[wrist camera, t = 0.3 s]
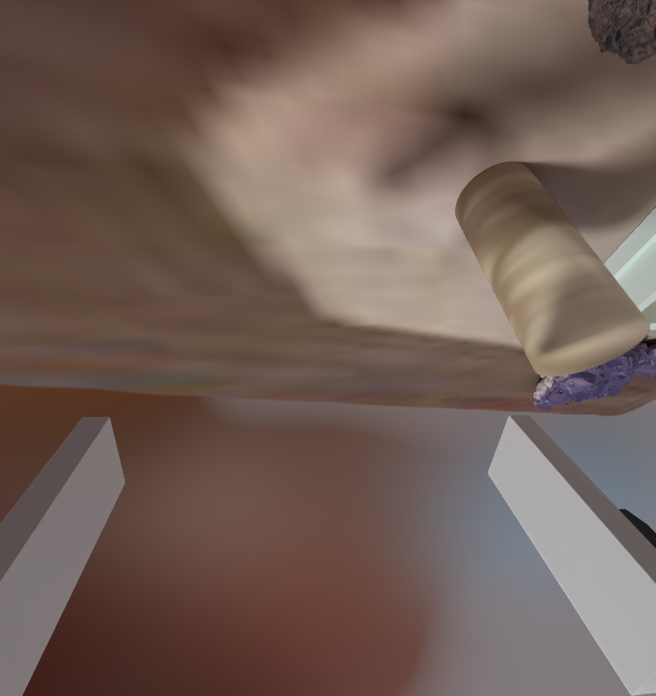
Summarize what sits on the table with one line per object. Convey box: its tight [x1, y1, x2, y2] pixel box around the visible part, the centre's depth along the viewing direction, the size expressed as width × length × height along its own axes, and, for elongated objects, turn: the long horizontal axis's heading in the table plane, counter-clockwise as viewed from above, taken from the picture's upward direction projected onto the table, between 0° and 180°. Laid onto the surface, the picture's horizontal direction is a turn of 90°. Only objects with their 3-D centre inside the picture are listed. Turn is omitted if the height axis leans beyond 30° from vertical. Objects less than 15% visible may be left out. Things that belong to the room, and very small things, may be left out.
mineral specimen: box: [533, 343, 656, 410], centre depth 46 cm, size 11×14×4 cm
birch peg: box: [455, 162, 650, 376], centre depth 21 cm, size 5×5×12 cm
